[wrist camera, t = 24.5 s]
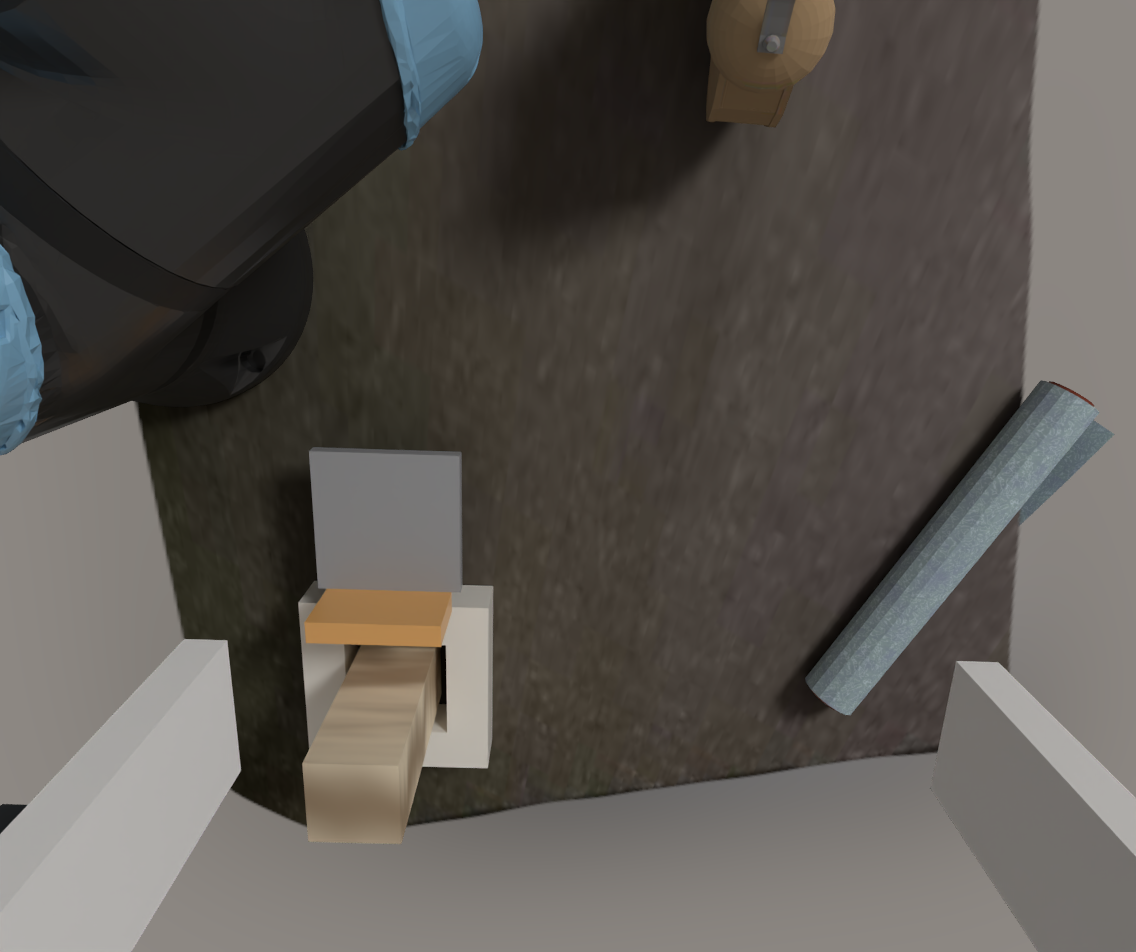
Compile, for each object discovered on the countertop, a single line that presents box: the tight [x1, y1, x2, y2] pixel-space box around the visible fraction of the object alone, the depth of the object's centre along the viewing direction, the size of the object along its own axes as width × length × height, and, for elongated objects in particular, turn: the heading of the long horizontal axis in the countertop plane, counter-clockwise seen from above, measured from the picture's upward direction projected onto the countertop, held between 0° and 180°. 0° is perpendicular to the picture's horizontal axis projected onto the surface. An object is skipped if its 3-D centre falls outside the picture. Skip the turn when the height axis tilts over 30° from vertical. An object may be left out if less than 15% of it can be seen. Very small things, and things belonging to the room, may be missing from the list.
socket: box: [298, 581, 493, 768], centre depth 48 cm, size 11×11×3 cm
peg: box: [302, 645, 442, 844], centre depth 43 cm, size 4×4×13 cm
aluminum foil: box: [805, 381, 1114, 715], centre depth 47 cm, size 23×7×3 cm, turn 149°
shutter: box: [304, 447, 462, 647], centre depth 41 cm, size 8×9×5 cm
